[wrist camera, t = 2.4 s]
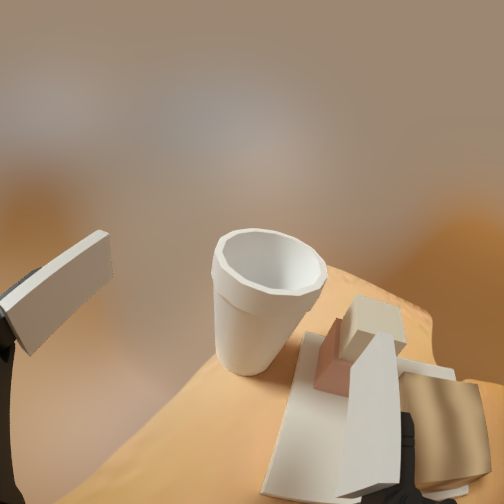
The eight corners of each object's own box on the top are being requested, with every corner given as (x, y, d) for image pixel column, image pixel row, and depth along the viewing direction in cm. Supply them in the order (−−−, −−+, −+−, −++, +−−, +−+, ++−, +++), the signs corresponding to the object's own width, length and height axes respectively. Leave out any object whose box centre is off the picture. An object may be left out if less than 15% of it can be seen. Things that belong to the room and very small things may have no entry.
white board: (447, 375, 29) (453, 369, 28) (459, 497, 12) (468, 493, 11) (302, 338, 32) (306, 330, 32) (259, 493, 16) (263, 492, 15)
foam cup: (298, 378, 27) (348, 289, 20) (215, 396, 24) (236, 302, 17) (266, 317, 34) (295, 228, 28) (194, 325, 31) (205, 227, 24)
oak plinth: (452, 406, 23) (477, 384, 20) (458, 488, 12) (491, 471, 10) (379, 396, 24) (404, 371, 22) (372, 495, 14) (407, 483, 12)
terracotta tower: (364, 359, 29) (403, 305, 24) (364, 400, 24) (412, 348, 19) (319, 347, 30) (351, 288, 25) (312, 388, 25) (352, 332, 20)
